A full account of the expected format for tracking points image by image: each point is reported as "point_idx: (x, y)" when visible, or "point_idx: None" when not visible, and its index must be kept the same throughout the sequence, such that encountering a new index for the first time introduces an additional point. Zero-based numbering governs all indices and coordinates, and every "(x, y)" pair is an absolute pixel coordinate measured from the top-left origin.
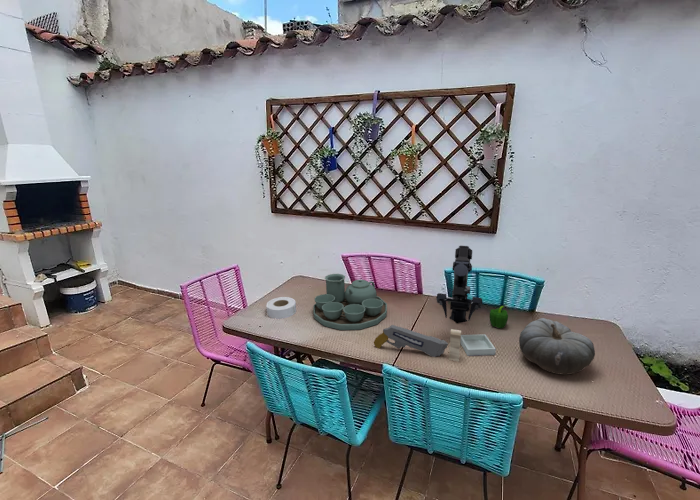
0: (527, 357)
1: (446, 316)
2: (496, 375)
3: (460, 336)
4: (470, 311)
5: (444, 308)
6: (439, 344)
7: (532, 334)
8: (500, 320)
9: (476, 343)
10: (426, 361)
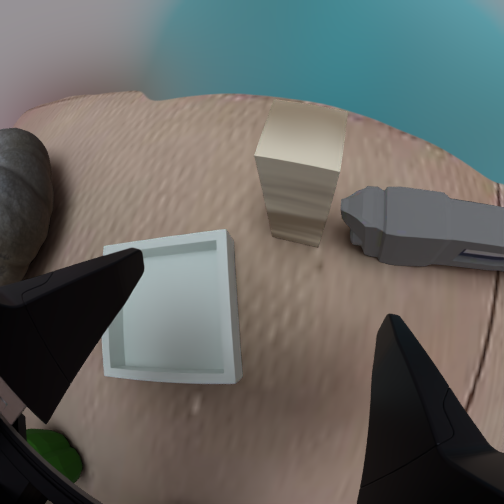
0: (51, 186)
1: (391, 320)
2: (170, 139)
3: (276, 104)
4: (52, 283)
5: (450, 398)
6: (389, 189)
7: None
8: (35, 435)
9: (162, 338)
10: None
